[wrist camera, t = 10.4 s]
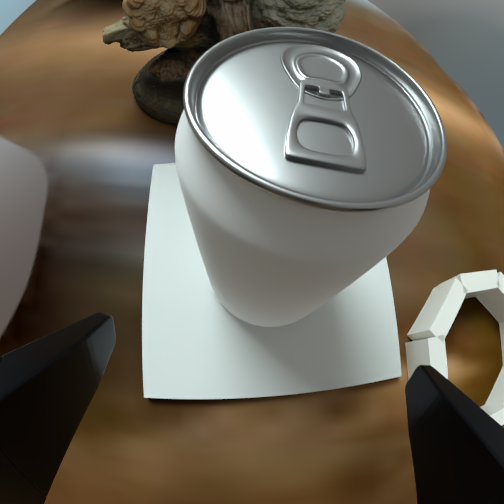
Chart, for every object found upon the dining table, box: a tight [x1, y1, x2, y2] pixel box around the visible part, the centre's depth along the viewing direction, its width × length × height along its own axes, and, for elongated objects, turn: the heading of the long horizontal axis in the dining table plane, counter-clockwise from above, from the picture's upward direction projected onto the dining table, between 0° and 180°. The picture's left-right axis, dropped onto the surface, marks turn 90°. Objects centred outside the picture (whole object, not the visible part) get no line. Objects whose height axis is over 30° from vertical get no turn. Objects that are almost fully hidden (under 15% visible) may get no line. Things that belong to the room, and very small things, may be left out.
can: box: [175, 27, 447, 327], centre depth 11 cm, size 6×6×12 cm
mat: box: [142, 163, 401, 399], centre depth 17 cm, size 14×14×1 cm
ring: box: [405, 270, 504, 426], centre depth 15 cm, size 10×10×2 cm
